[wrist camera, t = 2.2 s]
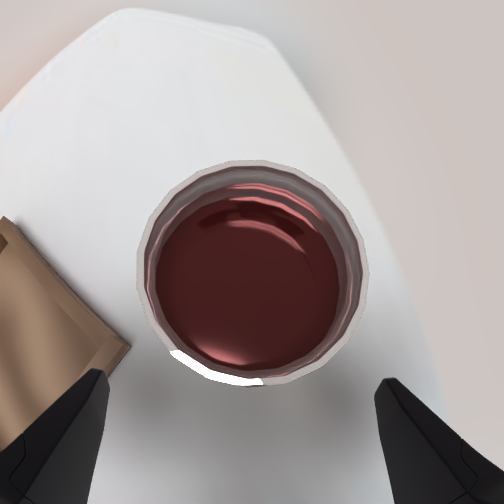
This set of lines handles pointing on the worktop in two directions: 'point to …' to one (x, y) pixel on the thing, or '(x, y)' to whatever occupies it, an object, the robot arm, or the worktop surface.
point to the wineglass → (252, 273)
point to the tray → (43, 335)
